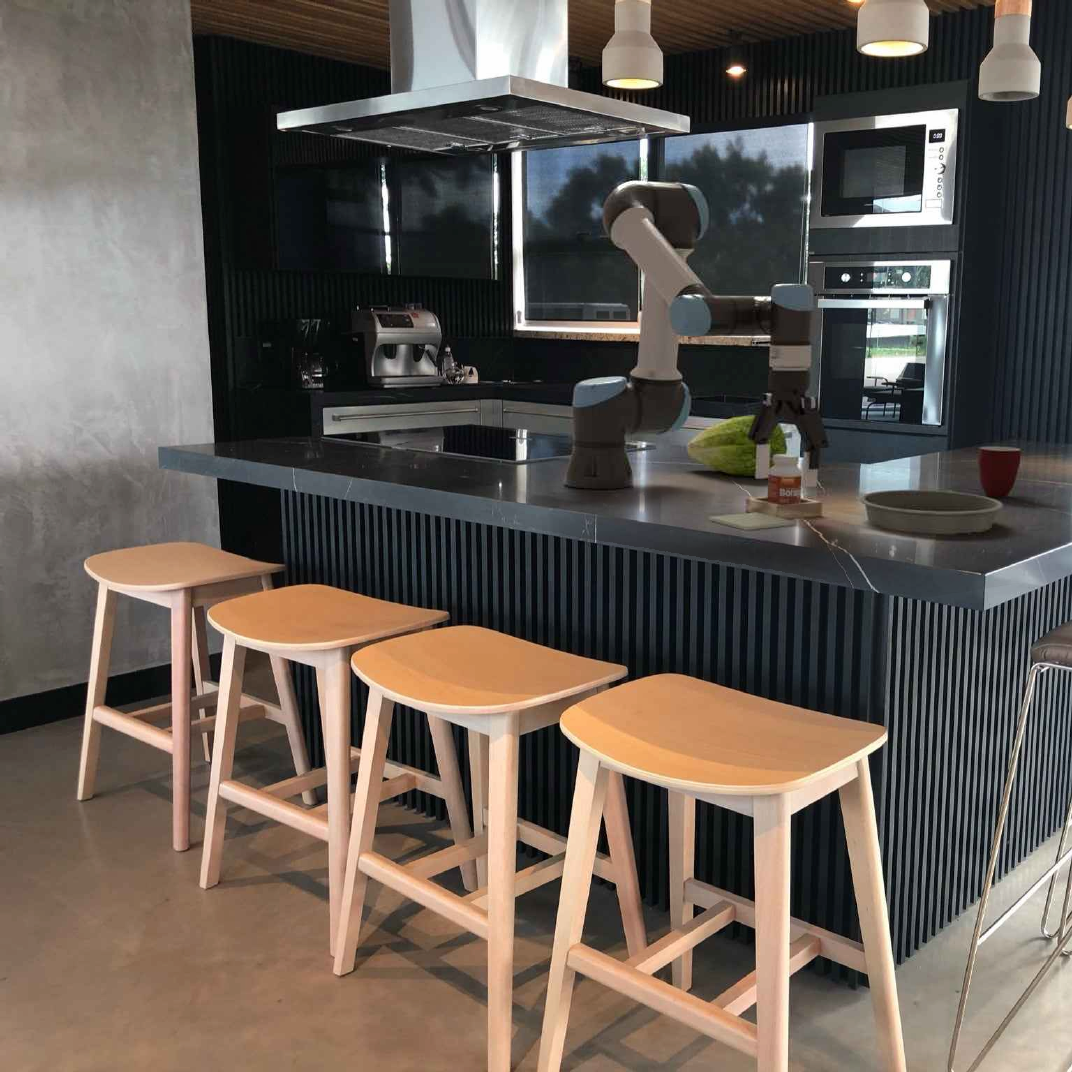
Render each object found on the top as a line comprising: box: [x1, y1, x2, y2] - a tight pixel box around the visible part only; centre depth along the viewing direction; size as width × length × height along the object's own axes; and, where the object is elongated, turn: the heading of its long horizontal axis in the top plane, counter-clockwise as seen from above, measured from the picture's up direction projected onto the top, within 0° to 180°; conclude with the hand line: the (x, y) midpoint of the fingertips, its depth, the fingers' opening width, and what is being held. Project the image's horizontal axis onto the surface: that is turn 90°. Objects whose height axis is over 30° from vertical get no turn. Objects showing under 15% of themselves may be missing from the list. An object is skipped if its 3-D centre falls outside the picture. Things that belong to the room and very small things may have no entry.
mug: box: [977, 446, 1022, 499], centre depth 239 cm, size 11×8×10 cm
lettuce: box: [686, 414, 788, 477], centre depth 272 cm, size 17×24×14 cm
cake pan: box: [859, 489, 1004, 535], centre depth 209 cm, size 25×25×4 cm
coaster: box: [708, 512, 796, 531], centre depth 209 cm, size 11×11×1 cm
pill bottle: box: [766, 453, 803, 505], centre depth 217 cm, size 6×6×11 cm
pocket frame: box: [745, 496, 823, 520], centre depth 218 cm, size 10×10×2 cm
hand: (785, 482), depth 217 cm, fingers open, 13 cm apart
